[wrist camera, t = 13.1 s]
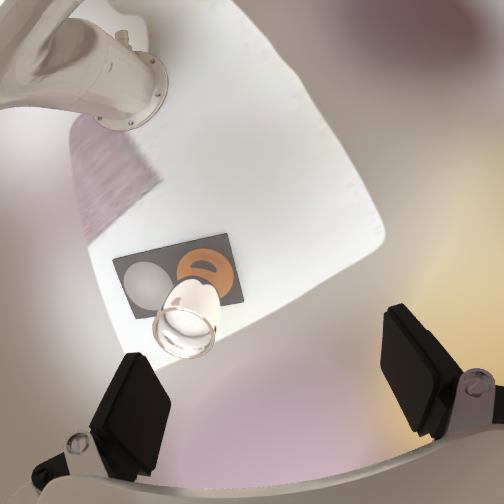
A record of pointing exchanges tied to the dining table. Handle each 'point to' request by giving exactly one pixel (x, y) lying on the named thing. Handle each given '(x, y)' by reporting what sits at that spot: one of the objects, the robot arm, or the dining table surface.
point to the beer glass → (191, 310)
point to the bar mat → (173, 273)
